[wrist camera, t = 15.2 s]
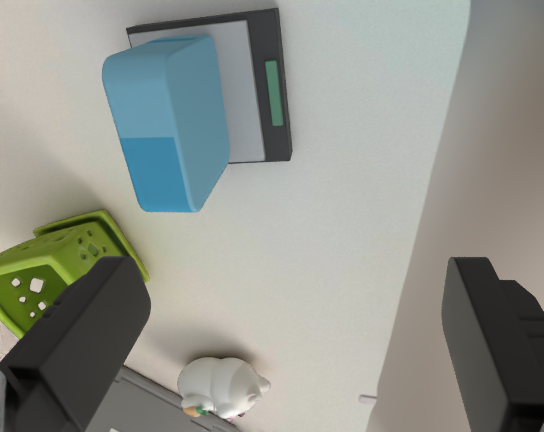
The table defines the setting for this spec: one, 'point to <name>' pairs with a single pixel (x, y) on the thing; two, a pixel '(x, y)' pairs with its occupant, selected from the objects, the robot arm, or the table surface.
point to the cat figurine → (220, 387)
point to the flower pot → (56, 264)
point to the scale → (242, 78)
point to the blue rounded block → (169, 120)
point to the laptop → (148, 409)
